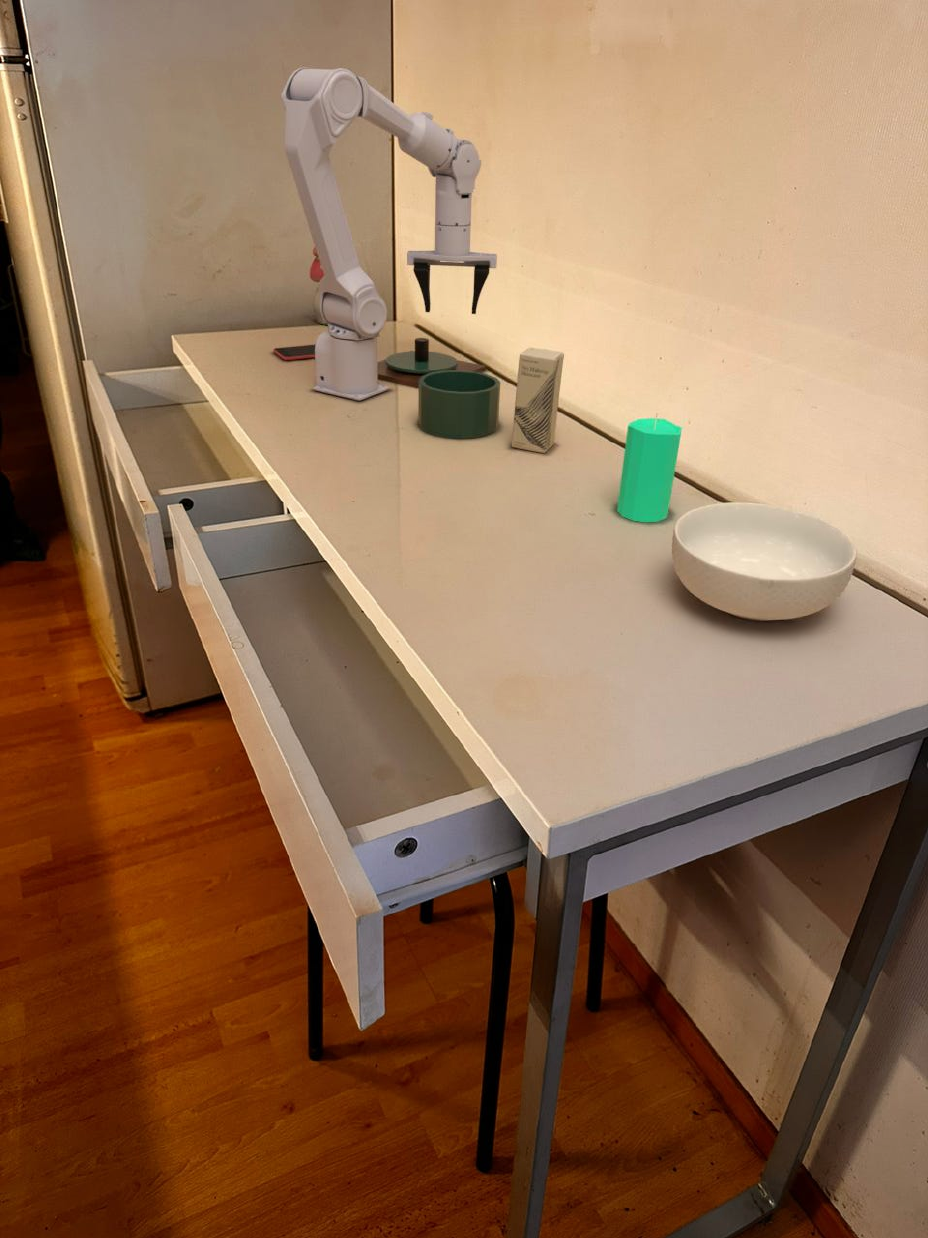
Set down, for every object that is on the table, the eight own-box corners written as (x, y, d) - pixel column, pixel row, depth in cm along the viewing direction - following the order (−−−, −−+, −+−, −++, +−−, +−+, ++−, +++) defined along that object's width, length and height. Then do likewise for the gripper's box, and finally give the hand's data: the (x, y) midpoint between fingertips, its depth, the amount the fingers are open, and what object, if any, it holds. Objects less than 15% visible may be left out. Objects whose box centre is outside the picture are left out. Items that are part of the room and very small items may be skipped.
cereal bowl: (694, 548, 98) (705, 487, 94) (853, 589, 91) (872, 525, 87) (638, 613, 85) (648, 546, 82) (818, 667, 78) (838, 596, 75)
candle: (637, 525, 102) (652, 423, 96) (606, 506, 107) (619, 407, 101) (678, 517, 105) (695, 417, 99) (647, 498, 109) (661, 401, 103)
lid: (376, 373, 150) (376, 345, 147) (395, 354, 160) (395, 328, 158) (449, 379, 148) (450, 351, 145) (464, 360, 158) (464, 334, 156)
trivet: (356, 373, 152) (356, 369, 151) (410, 355, 163) (410, 350, 163) (435, 391, 145) (435, 386, 144) (486, 370, 156) (486, 365, 156)
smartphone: (358, 350, 162) (284, 357, 156) (358, 353, 163) (284, 361, 157) (343, 341, 168) (271, 348, 161) (343, 344, 168) (271, 351, 162)
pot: (403, 427, 129) (403, 382, 125) (446, 408, 137) (447, 365, 134) (470, 444, 124) (472, 398, 120) (511, 423, 132) (514, 379, 129)
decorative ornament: (319, 327, 179) (315, 247, 171) (304, 321, 184) (300, 242, 176) (360, 323, 184) (358, 244, 176) (345, 316, 188) (342, 239, 181)
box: (510, 448, 123) (516, 353, 116) (520, 438, 127) (527, 345, 120) (547, 454, 121) (555, 358, 115) (556, 444, 125) (565, 351, 118)
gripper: (498, 222, 146) (494, 308, 153) (409, 218, 147) (409, 304, 154) (498, 228, 140) (494, 317, 147) (405, 224, 141) (406, 314, 147)
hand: (450, 311), depth 150 cm, fingers open, 7 cm apart
